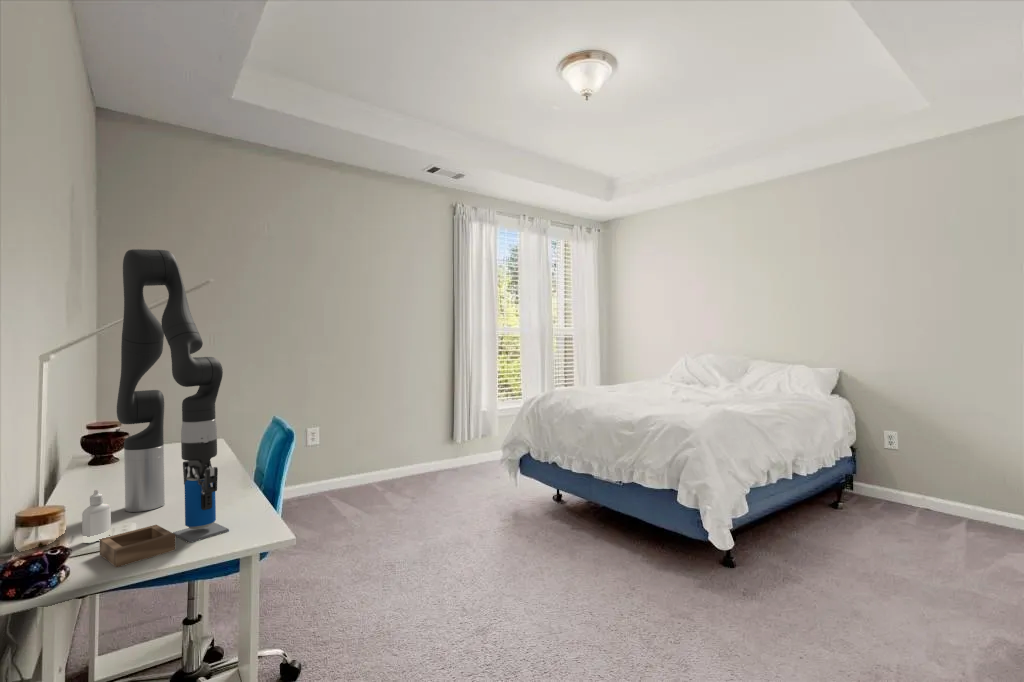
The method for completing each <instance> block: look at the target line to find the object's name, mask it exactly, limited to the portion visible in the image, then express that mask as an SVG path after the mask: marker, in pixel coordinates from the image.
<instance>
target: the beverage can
mask: <svg viewBox="0 0 1024 682" xmlns="http://www.w3.org/2000/svg"><path fill="white" fill-rule="evenodd" d="M200 480H201V481H204V479H200ZM212 485H213V483H212ZM201 495H202V494H201V491H200V486H198V485H197V482H196V479H194V478H192V477H191V478H189V477H187V481H186V482H185V485H184V522H185V523H184V526H186V527H187V528H190V529H200V528H205V527H208V526H210V525H212V523H213V522H214V523H216V520H217V519H216V518H217V515H216V514H217V513H216V512H217V511H216V504H217V503H216V491H215V492H213V493H212V508H210V509H207V510H202V509H201Z"/></svg>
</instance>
